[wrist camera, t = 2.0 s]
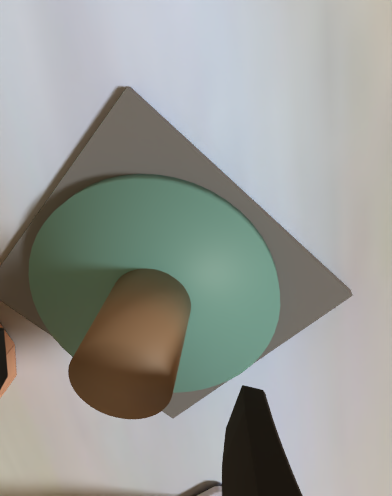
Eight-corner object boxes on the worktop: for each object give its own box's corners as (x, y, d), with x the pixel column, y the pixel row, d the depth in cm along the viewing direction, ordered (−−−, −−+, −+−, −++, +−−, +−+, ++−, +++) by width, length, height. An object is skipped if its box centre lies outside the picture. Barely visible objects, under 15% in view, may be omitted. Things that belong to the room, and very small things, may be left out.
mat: (350, 289, 14) (352, 295, 14) (174, 411, 19) (172, 418, 19) (129, 86, 12) (126, 87, 12) (-11, 284, 17) (-17, 289, 16)
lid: (333, 294, 14) (370, 396, 10) (171, 408, 18) (149, 513, 14) (130, 111, 12) (66, 141, 8) (-2, 289, 16) (-89, 372, 12)
